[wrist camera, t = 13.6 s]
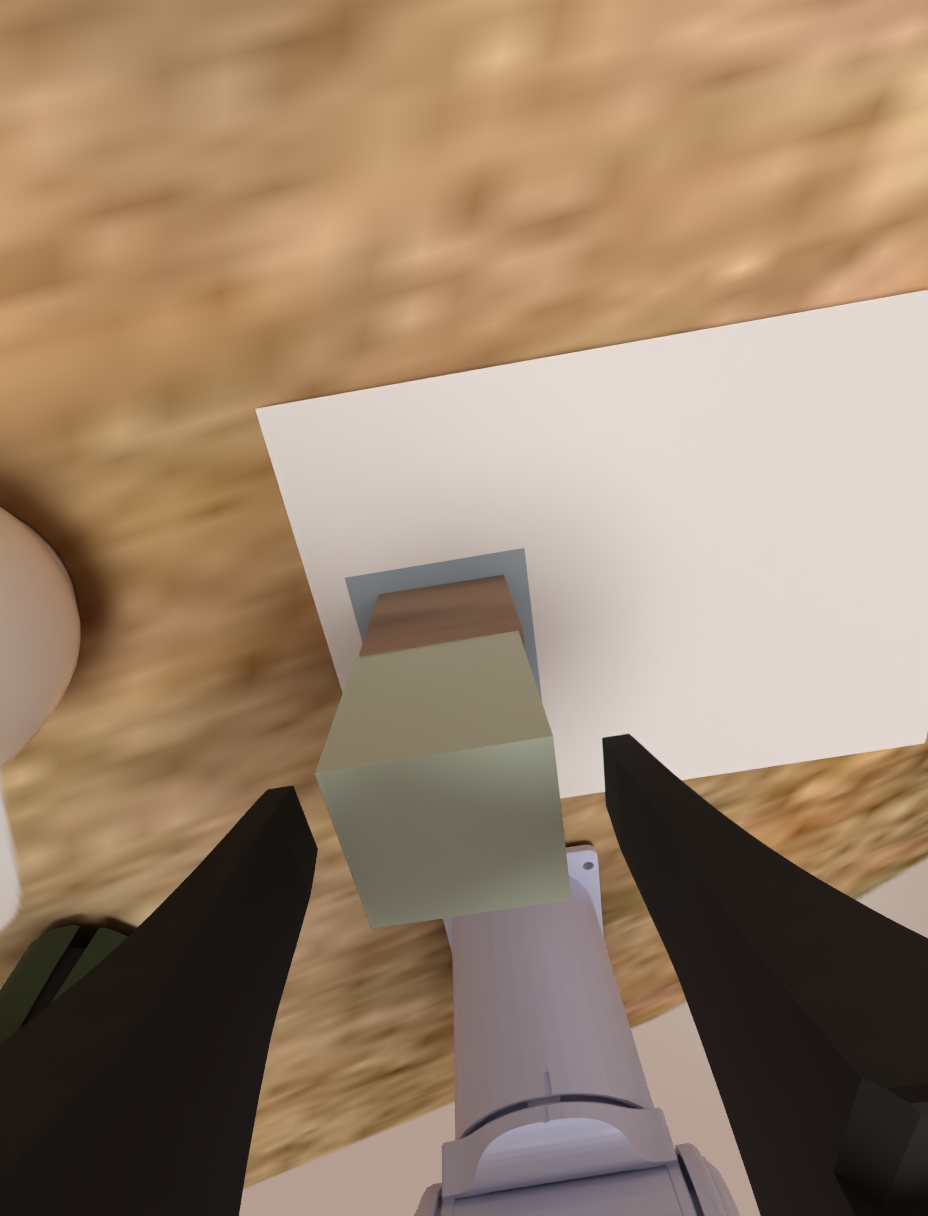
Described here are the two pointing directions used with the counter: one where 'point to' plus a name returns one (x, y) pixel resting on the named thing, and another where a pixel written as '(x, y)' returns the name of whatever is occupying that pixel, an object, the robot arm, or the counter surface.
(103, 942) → the character mug
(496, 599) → the walnut block
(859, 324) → the board
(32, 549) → the lidded jar
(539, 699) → the sage block
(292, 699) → the counter surface
